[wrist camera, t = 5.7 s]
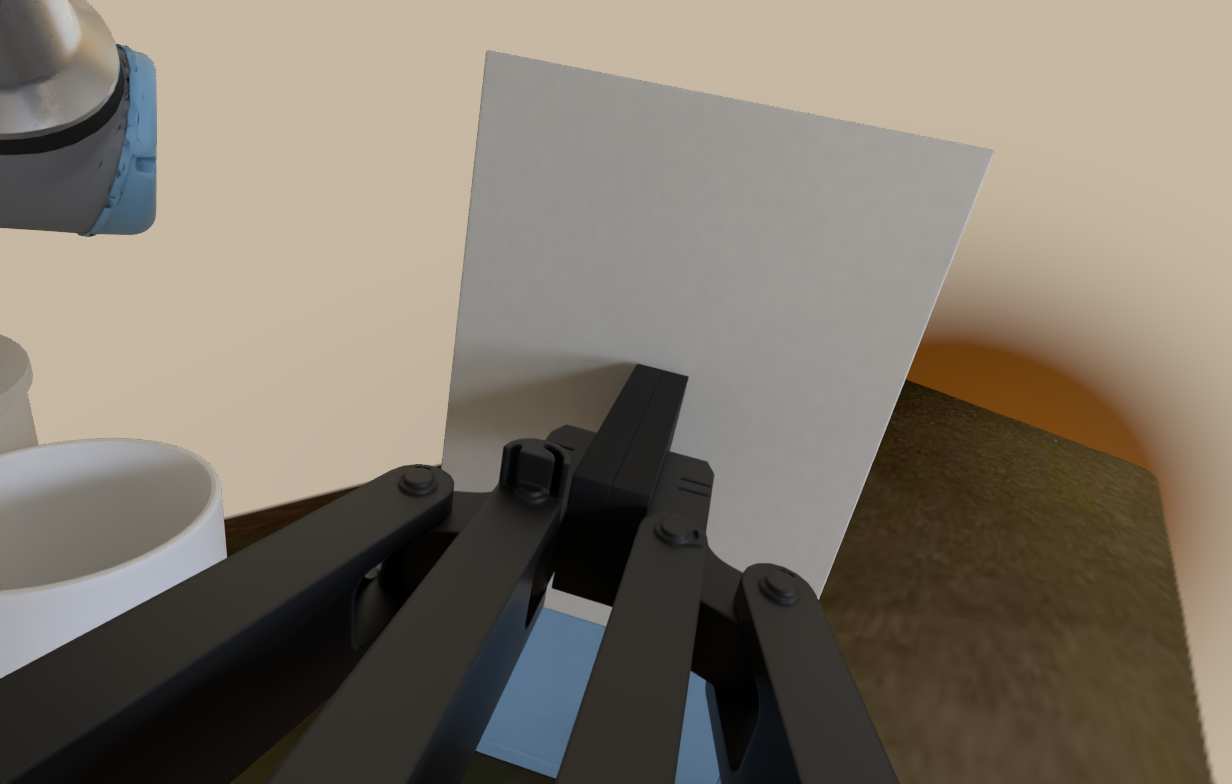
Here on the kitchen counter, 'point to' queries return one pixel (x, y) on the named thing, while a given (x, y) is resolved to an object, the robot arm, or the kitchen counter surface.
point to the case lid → (699, 290)
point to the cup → (97, 535)
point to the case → (576, 703)
